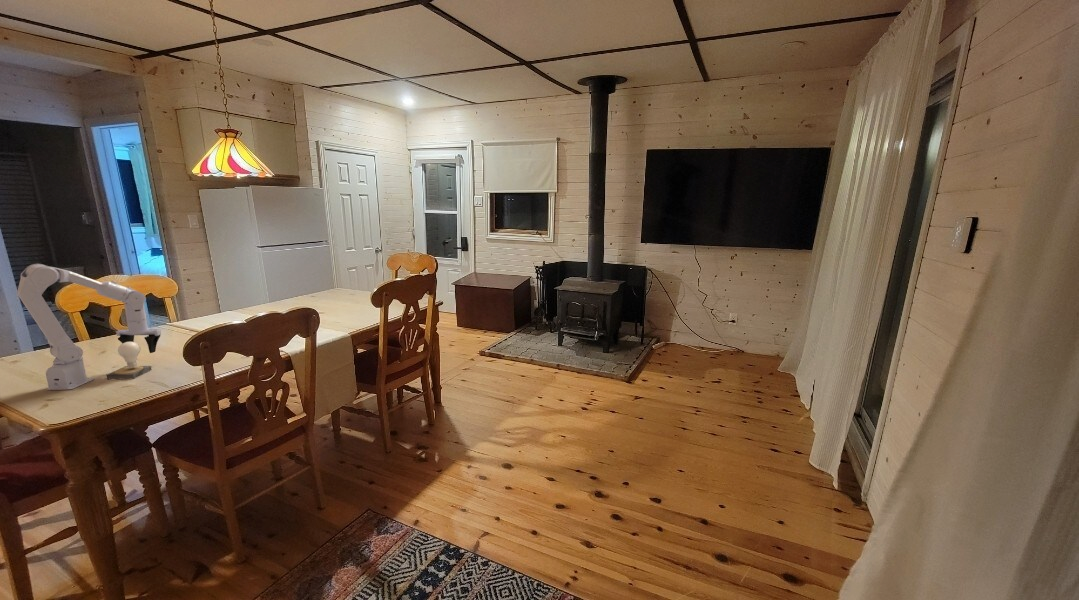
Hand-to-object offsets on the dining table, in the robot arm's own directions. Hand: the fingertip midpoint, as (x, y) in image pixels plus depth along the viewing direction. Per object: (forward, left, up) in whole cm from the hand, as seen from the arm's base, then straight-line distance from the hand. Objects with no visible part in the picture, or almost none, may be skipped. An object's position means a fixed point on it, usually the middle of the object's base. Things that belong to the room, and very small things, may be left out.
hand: (142, 352), depth 171 cm
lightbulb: (-7, -1, -5) cm, 8 cm away
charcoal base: (-7, 0, -6) cm, 10 cm away
